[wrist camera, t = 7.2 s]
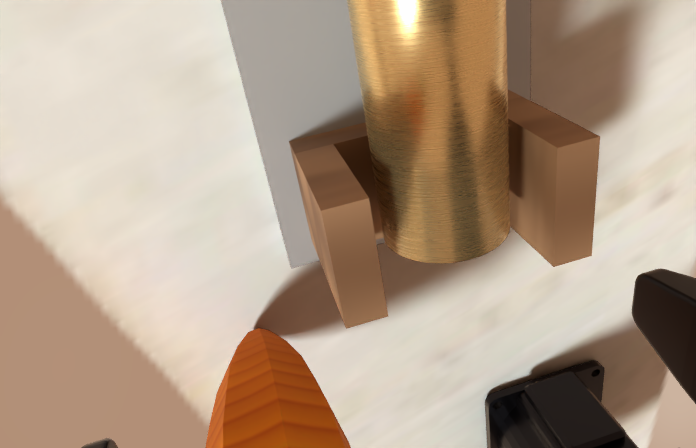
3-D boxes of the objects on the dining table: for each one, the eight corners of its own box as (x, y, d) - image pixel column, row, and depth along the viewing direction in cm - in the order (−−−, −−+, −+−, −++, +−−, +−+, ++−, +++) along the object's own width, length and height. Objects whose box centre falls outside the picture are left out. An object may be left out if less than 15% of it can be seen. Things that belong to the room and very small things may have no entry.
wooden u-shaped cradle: (506, 186, 22) (591, 255, 17) (311, 239, 21) (346, 328, 16) (505, 88, 20) (600, 136, 15) (288, 141, 19) (320, 210, 14)
